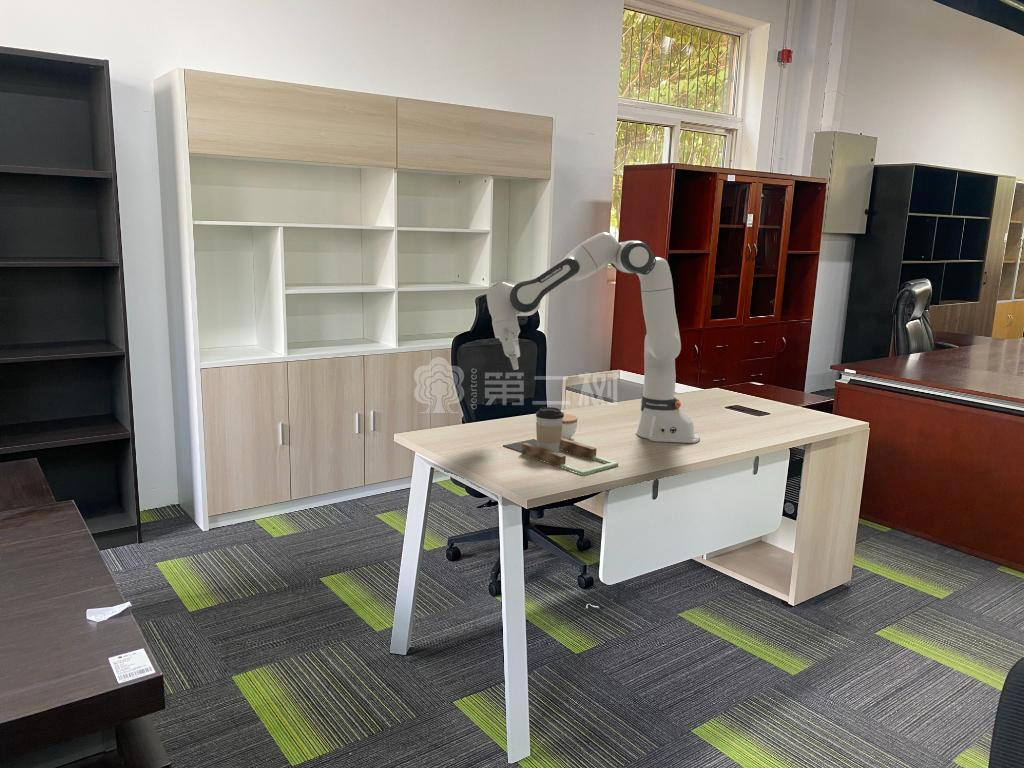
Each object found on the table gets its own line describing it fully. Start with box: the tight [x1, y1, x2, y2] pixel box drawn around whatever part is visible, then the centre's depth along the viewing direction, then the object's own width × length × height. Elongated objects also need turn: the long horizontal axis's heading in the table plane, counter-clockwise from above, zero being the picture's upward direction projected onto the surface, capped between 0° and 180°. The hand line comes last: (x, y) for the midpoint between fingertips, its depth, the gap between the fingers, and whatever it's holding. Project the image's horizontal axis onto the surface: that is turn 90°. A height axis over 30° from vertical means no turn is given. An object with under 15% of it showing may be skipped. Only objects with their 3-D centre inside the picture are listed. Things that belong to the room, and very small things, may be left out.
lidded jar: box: [561, 411, 578, 440], centre depth 263 cm, size 11×11×9 cm
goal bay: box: [561, 455, 619, 476], centre depth 232 cm, size 10×16×1 cm, turn 131°
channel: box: [521, 437, 597, 468], centre depth 242 cm, size 18×16×4 cm
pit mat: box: [502, 438, 537, 453], centre depth 253 cm, size 9×14×1 cm, turn 131°
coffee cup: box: [535, 406, 564, 454], centre depth 245 cm, size 9×9×15 cm
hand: (516, 369), depth 256 cm, fingers closed
